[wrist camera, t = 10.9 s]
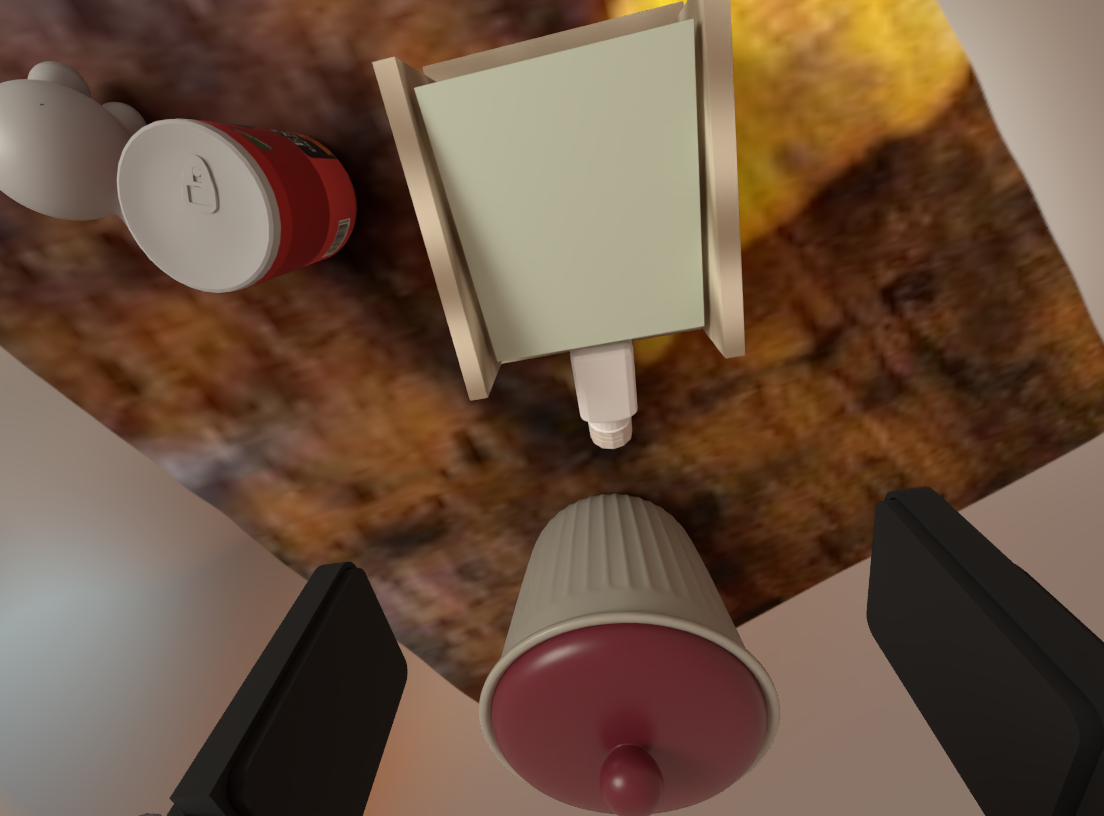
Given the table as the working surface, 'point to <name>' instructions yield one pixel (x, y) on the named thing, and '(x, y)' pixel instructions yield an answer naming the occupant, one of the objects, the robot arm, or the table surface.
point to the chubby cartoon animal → (62, 144)
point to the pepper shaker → (606, 390)
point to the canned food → (232, 201)
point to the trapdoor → (577, 190)
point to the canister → (625, 669)
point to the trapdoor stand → (715, 176)
